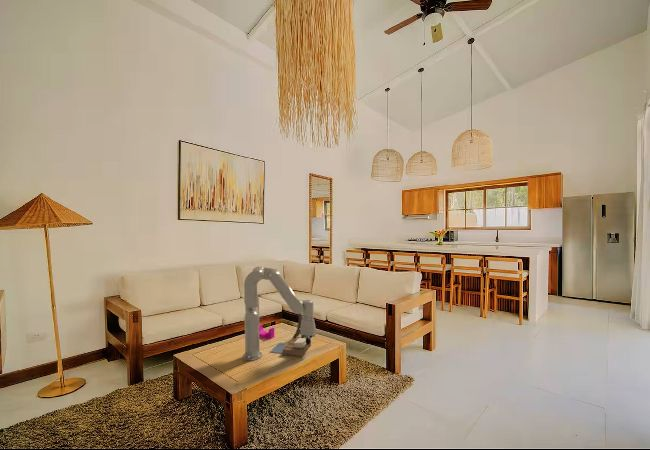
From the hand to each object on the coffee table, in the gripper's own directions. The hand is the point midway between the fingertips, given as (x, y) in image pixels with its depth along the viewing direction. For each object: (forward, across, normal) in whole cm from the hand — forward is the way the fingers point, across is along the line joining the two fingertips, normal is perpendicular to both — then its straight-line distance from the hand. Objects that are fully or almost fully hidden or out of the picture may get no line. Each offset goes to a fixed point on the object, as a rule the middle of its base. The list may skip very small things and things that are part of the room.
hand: (308, 344), depth 213 cm
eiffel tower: (+6, -14, +23) cm, 28 cm away
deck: (+5, -8, 0) cm, 10 cm away
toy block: (+6, -42, +17) cm, 46 cm away
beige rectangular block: (0, -6, 0) cm, 6 cm away
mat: (+5, -21, 0) cm, 21 cm away
